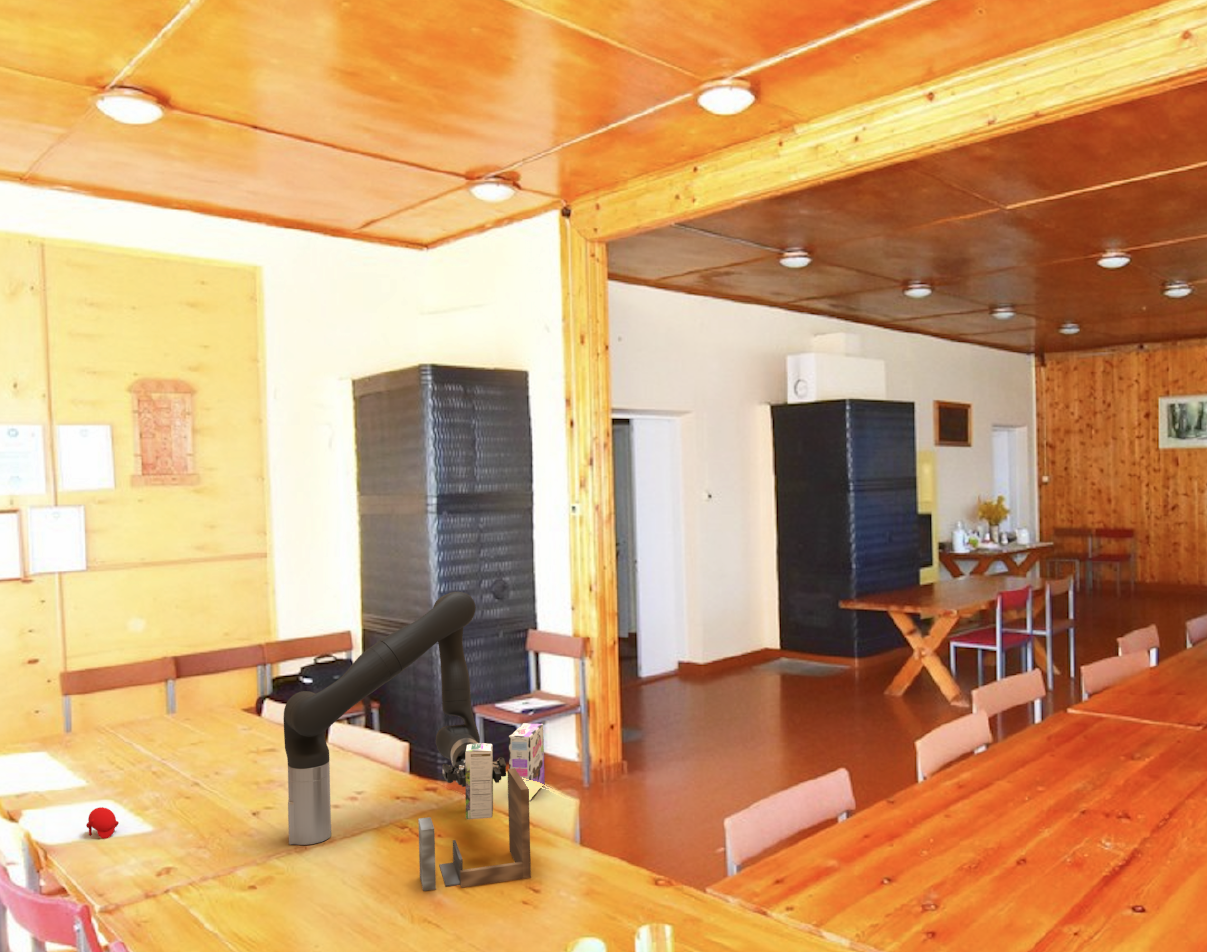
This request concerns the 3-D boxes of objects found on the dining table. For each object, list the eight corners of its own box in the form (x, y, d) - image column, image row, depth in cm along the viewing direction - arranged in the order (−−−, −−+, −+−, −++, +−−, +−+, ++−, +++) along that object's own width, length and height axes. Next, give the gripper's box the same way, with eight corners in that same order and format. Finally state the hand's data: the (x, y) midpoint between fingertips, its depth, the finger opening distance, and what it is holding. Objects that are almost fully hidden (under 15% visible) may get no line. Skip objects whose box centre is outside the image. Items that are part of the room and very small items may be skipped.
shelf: (423, 893, 185) (421, 801, 185) (416, 864, 200) (414, 779, 200) (530, 877, 191) (528, 788, 191) (516, 850, 206) (514, 768, 206)
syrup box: (466, 810, 204) (465, 743, 204) (494, 808, 204) (492, 742, 204) (465, 820, 198) (463, 751, 198) (493, 818, 199) (492, 749, 199)
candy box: (531, 801, 238) (529, 736, 238) (509, 800, 239) (507, 735, 239) (545, 784, 251) (544, 722, 251) (524, 783, 252) (522, 722, 253)
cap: (79, 820, 223) (81, 813, 219) (104, 805, 227) (107, 798, 223) (96, 848, 222) (99, 842, 217) (121, 833, 226) (124, 826, 221)
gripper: (436, 745, 213) (446, 766, 197) (499, 738, 217) (513, 758, 201) (437, 778, 213) (447, 802, 197) (499, 771, 217) (514, 793, 201)
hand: (480, 780), depth 199 cm, fingers closed on syrup box, 6 cm apart
